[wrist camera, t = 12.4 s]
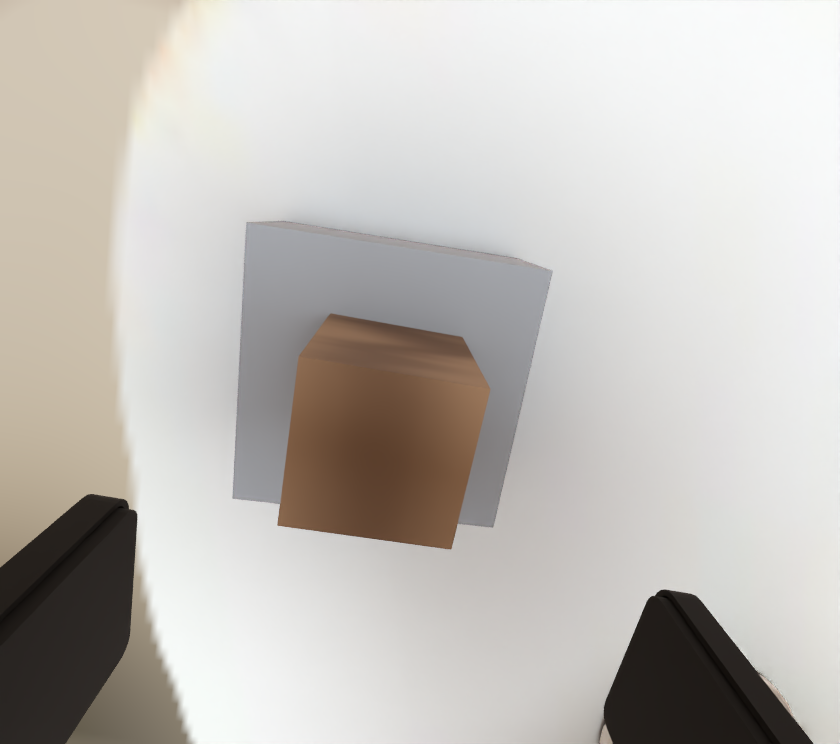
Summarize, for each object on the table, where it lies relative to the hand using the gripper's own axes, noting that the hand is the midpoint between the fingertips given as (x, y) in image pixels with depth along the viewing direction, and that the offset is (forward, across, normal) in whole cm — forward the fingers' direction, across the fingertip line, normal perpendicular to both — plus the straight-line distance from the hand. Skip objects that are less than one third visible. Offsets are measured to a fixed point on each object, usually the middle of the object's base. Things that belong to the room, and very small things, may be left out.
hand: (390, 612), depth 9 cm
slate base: (+17, +1, 0) cm, 17 cm away
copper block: (+11, +1, 0) cm, 11 cm away
